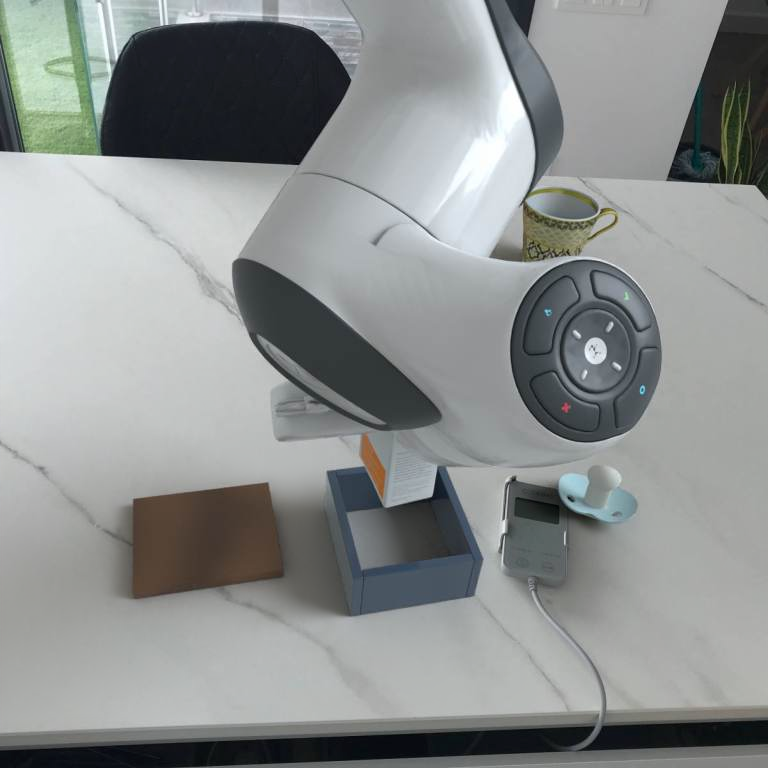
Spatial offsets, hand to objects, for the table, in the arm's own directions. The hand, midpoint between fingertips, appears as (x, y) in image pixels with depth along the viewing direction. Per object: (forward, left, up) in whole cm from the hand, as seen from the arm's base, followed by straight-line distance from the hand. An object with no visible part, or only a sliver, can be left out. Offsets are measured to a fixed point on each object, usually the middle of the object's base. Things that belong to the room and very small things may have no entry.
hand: (400, 407), depth 58 cm
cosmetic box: (0, -1, -7) cm, 7 cm away
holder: (+1, -1, -16) cm, 16 cm away
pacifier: (+21, +1, -17) cm, 27 cm away
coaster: (-15, +3, -16) cm, 22 cm away
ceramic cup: (+35, +42, -17) cm, 57 cm away
